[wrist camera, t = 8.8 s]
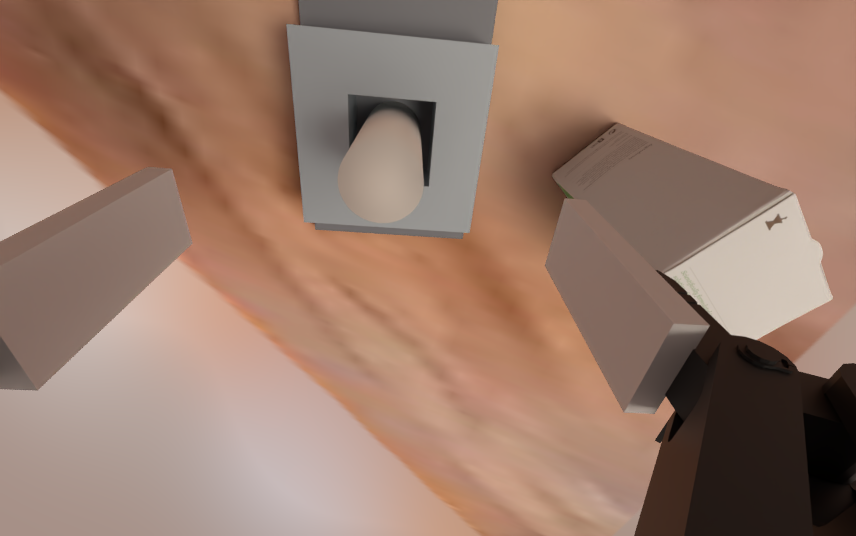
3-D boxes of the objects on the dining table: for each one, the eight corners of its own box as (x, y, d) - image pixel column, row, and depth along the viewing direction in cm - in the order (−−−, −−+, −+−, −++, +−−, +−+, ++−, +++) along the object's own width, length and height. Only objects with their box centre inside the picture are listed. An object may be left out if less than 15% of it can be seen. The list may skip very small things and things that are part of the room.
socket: (301, -21, 24) (276, -34, 20) (495, 0, 25) (511, -8, 21) (317, 224, 33) (303, 252, 28) (461, 233, 34) (467, 262, 29)
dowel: (365, 98, 27) (335, 136, 17) (422, 103, 27) (427, 143, 17) (365, 155, 29) (339, 220, 19) (418, 159, 29) (420, 225, 19)
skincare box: (548, 172, 31) (649, 273, 18) (622, 115, 29) (801, 181, 16) (597, 240, 34) (713, 368, 21) (667, 193, 32) (845, 302, 19)
